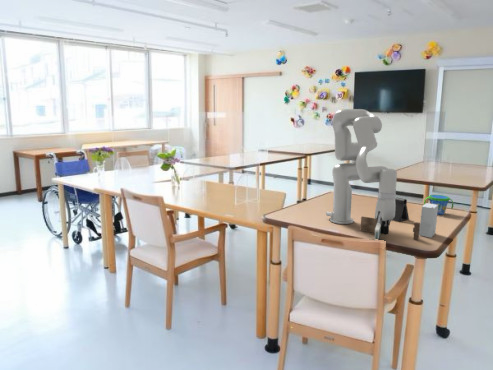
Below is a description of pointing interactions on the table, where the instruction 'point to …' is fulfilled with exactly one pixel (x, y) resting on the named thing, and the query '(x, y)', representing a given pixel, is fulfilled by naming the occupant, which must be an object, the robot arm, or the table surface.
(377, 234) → the gate
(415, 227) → the gate posts
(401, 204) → the door stopper
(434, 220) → the skincare box
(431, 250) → the table surface
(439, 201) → the snack cup
